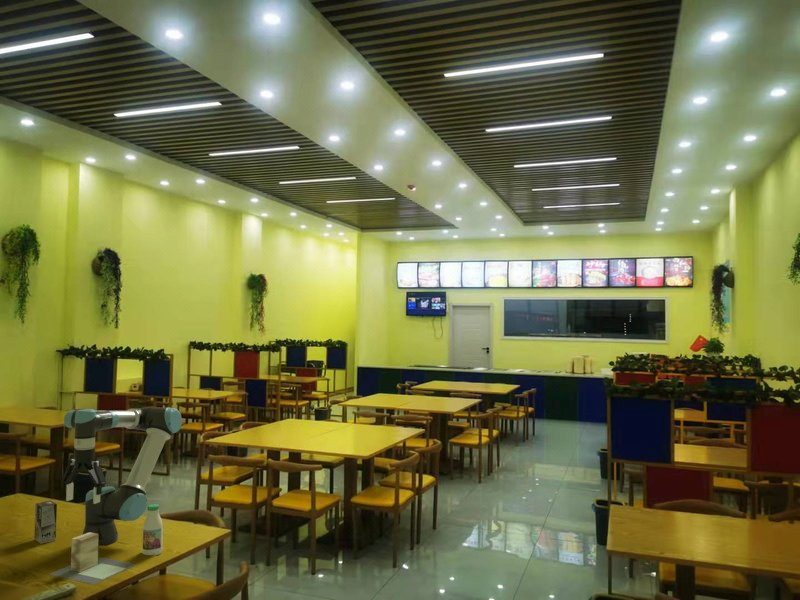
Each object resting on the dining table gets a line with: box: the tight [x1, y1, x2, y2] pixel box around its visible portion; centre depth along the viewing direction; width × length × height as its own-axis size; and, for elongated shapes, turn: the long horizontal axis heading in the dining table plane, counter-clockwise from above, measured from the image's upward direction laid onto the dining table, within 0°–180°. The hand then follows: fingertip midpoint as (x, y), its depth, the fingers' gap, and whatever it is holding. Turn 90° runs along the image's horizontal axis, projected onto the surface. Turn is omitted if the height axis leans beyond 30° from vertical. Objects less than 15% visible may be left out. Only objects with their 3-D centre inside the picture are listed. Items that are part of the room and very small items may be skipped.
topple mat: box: [49, 556, 138, 585], centre depth 233 cm, size 24×20×1 cm
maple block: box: [70, 532, 99, 572], centre depth 235 cm, size 5×8×12 cm, turn 157°
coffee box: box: [34, 500, 58, 544], centre depth 268 cm, size 9×6×16 cm
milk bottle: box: [142, 503, 164, 556], centre depth 252 cm, size 8×8×20 cm
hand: (83, 501), depth 240 cm, fingers open, 13 cm apart
